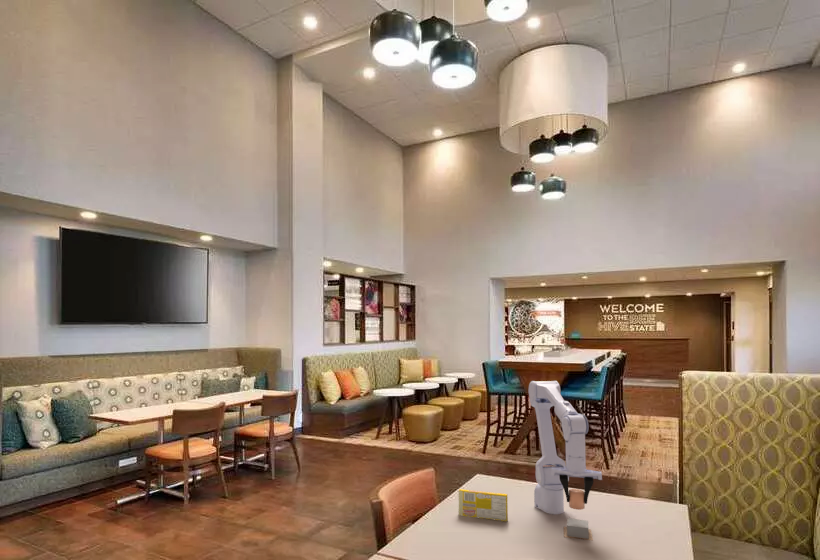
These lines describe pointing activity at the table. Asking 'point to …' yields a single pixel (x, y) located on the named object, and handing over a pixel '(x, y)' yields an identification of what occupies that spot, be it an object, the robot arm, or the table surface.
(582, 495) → the clay cylinder
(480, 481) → the table surface
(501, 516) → the candy box
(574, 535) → the tower block
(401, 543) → the table surface
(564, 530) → the tower base
